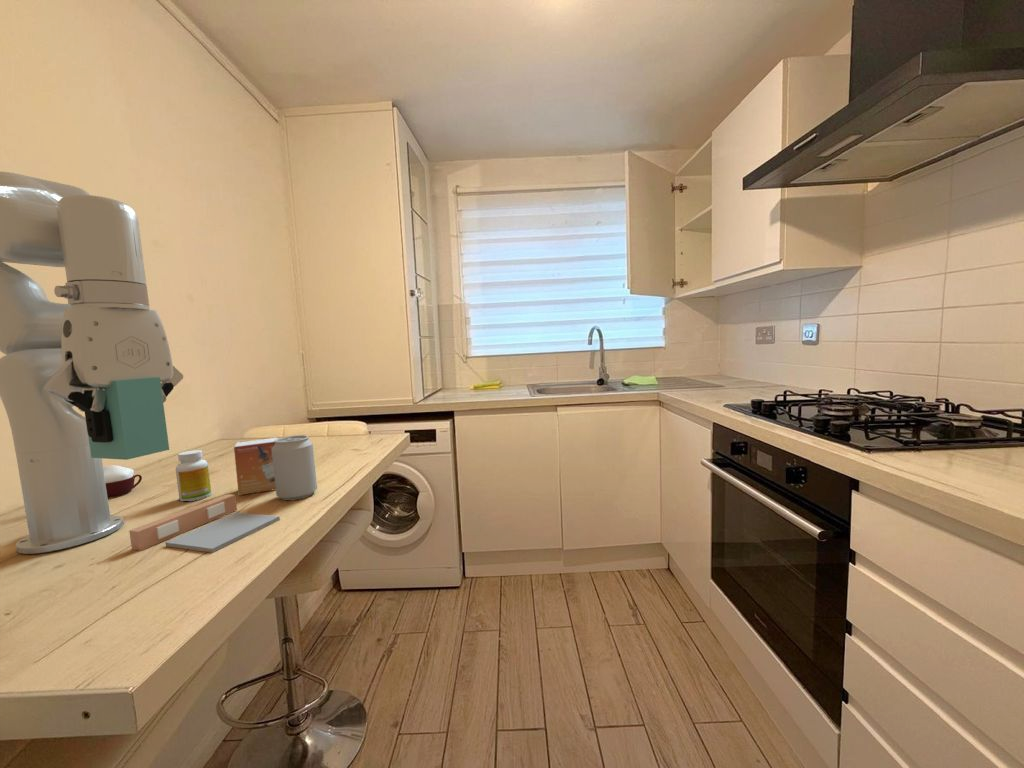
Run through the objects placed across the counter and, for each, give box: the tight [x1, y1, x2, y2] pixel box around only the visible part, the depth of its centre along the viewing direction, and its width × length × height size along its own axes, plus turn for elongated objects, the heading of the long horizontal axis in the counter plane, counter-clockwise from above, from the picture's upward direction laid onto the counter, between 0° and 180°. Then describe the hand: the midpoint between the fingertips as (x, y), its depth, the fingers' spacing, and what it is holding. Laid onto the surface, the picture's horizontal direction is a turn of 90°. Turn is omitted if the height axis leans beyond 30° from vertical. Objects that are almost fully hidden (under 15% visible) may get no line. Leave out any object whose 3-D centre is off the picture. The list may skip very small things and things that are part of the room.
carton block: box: [81, 377, 170, 461], centre depth 57 cm, size 7×5×10 cm
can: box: [271, 434, 318, 501], centre depth 86 cm, size 8×8×12 cm
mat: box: [165, 511, 281, 554], centre depth 70 cm, size 10×12×1 cm
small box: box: [233, 436, 279, 496], centre depth 92 cm, size 8×6×10 cm
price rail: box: [128, 493, 238, 551], centre depth 73 cm, size 2×16×3 cm, turn 162°
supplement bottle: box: [175, 449, 212, 502], centre depth 89 cm, size 5×5×10 cm
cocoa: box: [103, 465, 143, 498], centre depth 94 cm, size 10×6×12 cm, turn 128°
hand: (129, 435), depth 57 cm, fingers closed on carton block, 5 cm apart
